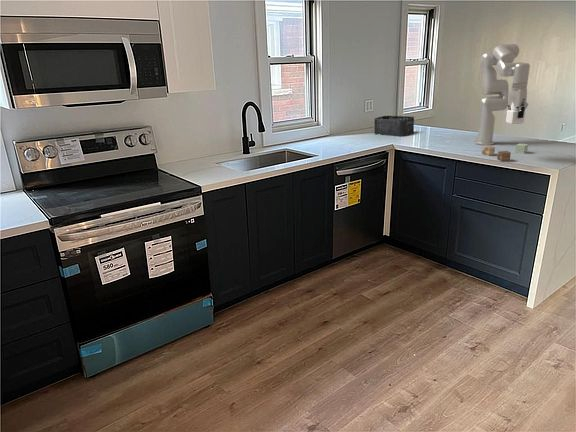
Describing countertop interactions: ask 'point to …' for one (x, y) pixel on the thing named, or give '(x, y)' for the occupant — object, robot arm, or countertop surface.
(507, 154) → the walnut cube
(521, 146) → the sage cube
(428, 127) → the countertop surface
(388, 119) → the storage bin
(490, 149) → the oak cube
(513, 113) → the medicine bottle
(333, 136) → the countertop surface
